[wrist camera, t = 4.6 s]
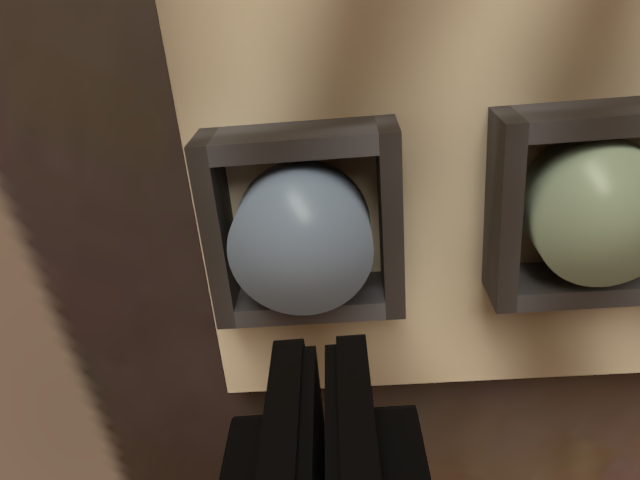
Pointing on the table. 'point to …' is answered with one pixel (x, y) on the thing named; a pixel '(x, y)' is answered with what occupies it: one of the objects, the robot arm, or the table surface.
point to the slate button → (301, 238)
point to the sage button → (586, 211)
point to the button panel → (412, 170)
